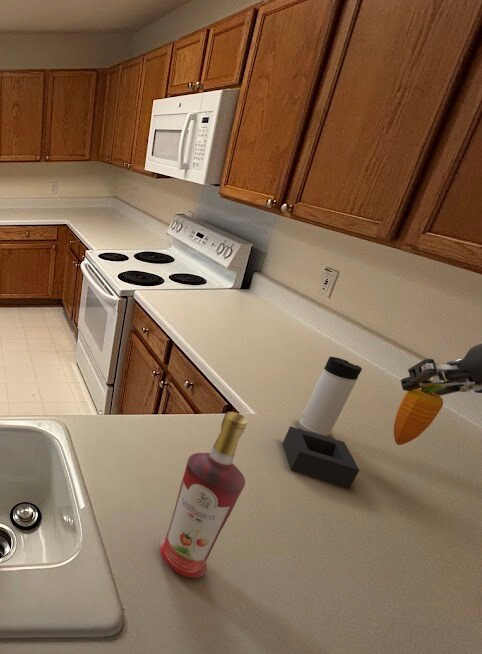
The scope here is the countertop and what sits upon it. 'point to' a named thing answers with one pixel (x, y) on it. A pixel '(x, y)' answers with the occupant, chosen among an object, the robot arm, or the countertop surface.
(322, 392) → the travel mug
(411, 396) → the carrot
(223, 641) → the countertop surface
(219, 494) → the liquor
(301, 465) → the socket pad
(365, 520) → the countertop surface
